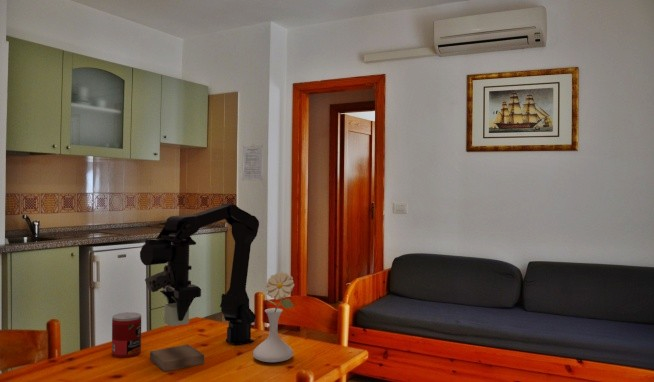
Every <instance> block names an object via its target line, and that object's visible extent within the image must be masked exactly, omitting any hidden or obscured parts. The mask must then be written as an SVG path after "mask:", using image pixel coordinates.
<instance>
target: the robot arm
mask: <svg viewBox="0 0 654 382" xmlns="http://www.w3.org/2000/svg"><path fill="white" fill-rule="evenodd" d="M221 221H225V222H226V223H227V224H228V225H229V226H231V235H232V238H233V241H234V248H233V250H234V251H233V259H232V267H231V275H230V283H229V289H228V290H227V291H226V293H222V294H221V297H220V298H221V301H220V305H219V308H220V309H221V310H220V311H221V314H222V315H223V317H224V321H225V322H228V326H227V327H226V338H225V341H226V342H228V343H230V344H232V345H234V346H238V345H244V344H248V343H253V342H254V339H252V338H251V336H252V334H251V333H252V332H251V329H252V324H254V323H255V322H256V317H257V315H256V314H255V313H254V312H253V310H252V309H251V308H250V298H249V295H248V292H247V290H246V288H247V281H248V272H249V265H250V264H249V262H250V255H251V248H252V247H251V246H252V244H253V242H254V240H255V239H256V237H257V235H258V231H259V228H260V221H259V220H258V217H256V216H255V215H253V214H251V213H249V212H248V211H245V210H243V209H241V208H240V207H239V206H238V205H236V204H234V203H222V204H221V205H219V206H215V207H212V208H209V209H206V210H202V211H200V212H196V213H193V214H181V215H172V216H169V217H167V218H166V221H165V223H164V226H163V227H162V229H161V230H160V232H159V234H158V235H157V237H156V238H154V239H153V238H146V239H145V240H144V241H145V242H144V244H143V245H142V247H141V250H140V251H139V258H140V261H141V263H142V264H143V265H144V266H154V265H162V264H163V265H164V264H166V265H164V266H163V270H162V271H160V272H158V273H155V274H153V275H150V276H148V277H146V278H145V279H144V281H145V284H146V287H147V290H148V291H150V292H151V293H155V292H158V291H159V292H160V293H161V294H162V295H163V296H164V297H165V298H166V302H167V304H172V303H176V306H177V315H178V320H179V321H182V320H183V319H184V317H185V315H186V313H187V311H188V309H189V310H190V307H191V305H192V303H193V301H194V299H196V298H200V297H202V289H201V288H200V287H199V286H198V285H196V284H192V280H190V279H189V278H190V275H189V274H190V272H189V271H191V270H192V265H190V246H195V245H197V242H196V241H195V240H194V239H193V238H192V236H193V235H194V234H196V233H198V231H199V230H200V229H201V228H204V227H207V226H210V225H211V224H215V223H217V222H221Z"/></svg>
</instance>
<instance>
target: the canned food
mask: <svg viewBox="0 0 654 382" xmlns="http://www.w3.org/2000/svg"><path fill="white" fill-rule="evenodd" d="M111 318H112V319H111V321H112V322H111V353H112V356H113V357H115V358H119V357H121V359H124V358H125V357H127V358H132V357H135V356H138V355H140V353H141V351H142V314H141V313H138V312H131V311H130V312H121V313H120V312H119V313H116V314H114V315H113V316H112V317H111Z"/></svg>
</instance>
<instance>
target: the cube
mask: <svg viewBox="0 0 654 382" xmlns="http://www.w3.org/2000/svg"><path fill="white" fill-rule="evenodd" d="M163 321H164V323H165V324H167V325H168V326H169V327H177V326H182V325H189V324H190V308H189V309H188V311H187V313H186V315H185V317H184V319H183V320H182V321H179V320H178V315H177V306H176V303H172V304H168V303H164V320H163Z"/></svg>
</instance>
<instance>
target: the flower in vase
mask: <svg viewBox="0 0 654 382" xmlns="http://www.w3.org/2000/svg"><path fill="white" fill-rule="evenodd" d="M293 279H294V278H293V276H292V275H290V274H288V273H287V272H284V271H281V272H275V274H272V275H270V277H269V278H268V279H267V282H266V283H265V291H266V295H267V296H268V297H270V298H271V299H272V298H273V299H274V300H276V301H278V300H280V302H279V303H278V305H277V304H276V303H275V302H273V301H272V300H270V299H268V298H267V297H265V300H266V301H268V302H269V303H271V304H273V305H274V306H276V308H275V307H271V308H267V309H265V310H264V313H266V315H267V319H268V324H269V329H268V330H269V331H268V336H267V337H266V339H265V340H263V341H262V342H261V343H259V345H257V346H256V347H255V348H254V349H253V351H252V355H253V357H254V359H256V360H258V361H261V362H264V363H265V362H266V363H281V362H284V361H287V360H289V359H291V358H293V355H294V350H293V349H292V347H291V346H290V345H289V344H287V343H286V342H285V341H284V340H282V338H280V336H279V333H278V328H279V327H278V325H279V319H280V315H281V314H282V312H284V310H283V309H282V308H279V307H280V305H282V307H283V308H284V309H290V308H294V307H295V306H294V304H293V302H292V301H291V300H290V299H288V298H286V297H289V296H290V294H291V292H293V289H294V287H295V283H294V280H293ZM284 298H285V299H284Z"/></svg>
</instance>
